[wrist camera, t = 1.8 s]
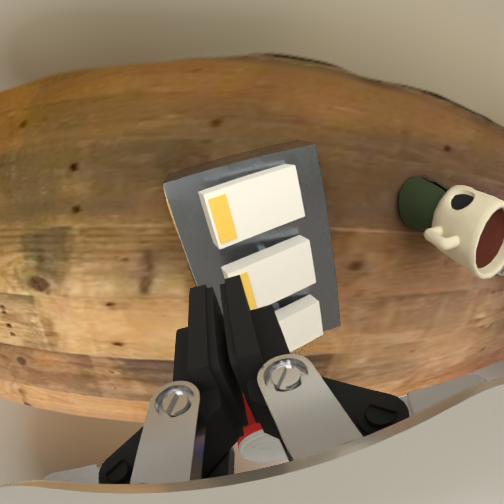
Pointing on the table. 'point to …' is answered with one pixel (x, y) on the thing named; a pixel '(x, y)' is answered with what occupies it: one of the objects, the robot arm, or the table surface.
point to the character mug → (457, 223)
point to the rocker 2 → (274, 271)
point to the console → (310, 226)
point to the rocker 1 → (252, 204)
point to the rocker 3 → (300, 322)
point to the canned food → (259, 442)
